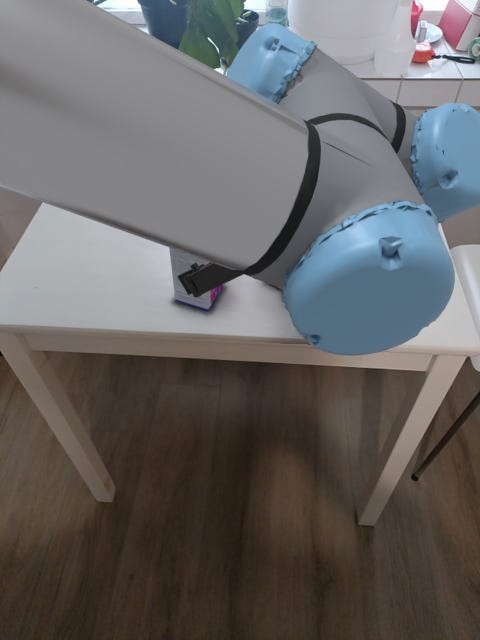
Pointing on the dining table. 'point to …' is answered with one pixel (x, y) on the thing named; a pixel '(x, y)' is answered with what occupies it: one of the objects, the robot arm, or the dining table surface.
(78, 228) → the dining table surface
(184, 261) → the supplement box
